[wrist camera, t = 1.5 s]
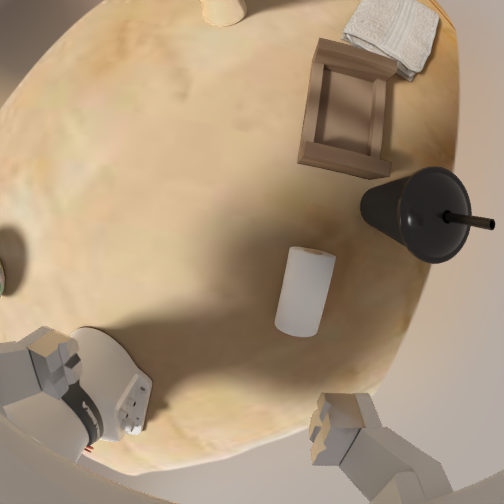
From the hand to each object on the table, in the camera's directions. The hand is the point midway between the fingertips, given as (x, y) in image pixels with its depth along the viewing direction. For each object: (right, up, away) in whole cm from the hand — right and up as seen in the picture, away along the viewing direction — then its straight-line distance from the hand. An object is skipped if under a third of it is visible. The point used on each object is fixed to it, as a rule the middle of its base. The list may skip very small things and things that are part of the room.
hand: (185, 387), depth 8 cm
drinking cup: (+17, +10, +24) cm, 31 cm away
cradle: (+13, +20, +22) cm, 32 cm away
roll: (+8, 0, +24) cm, 25 cm away
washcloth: (+22, +37, +19) cm, 47 cm away
